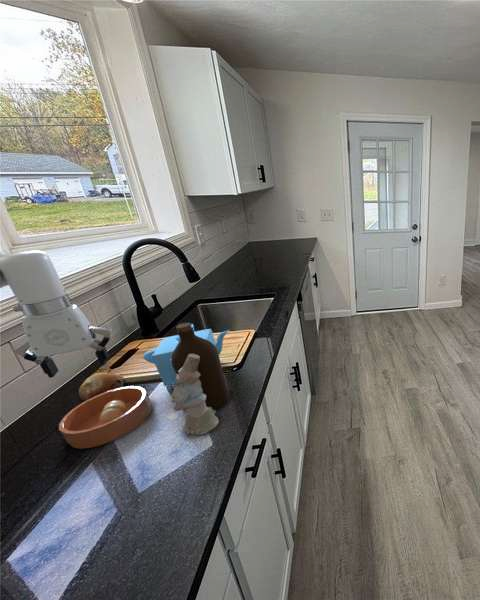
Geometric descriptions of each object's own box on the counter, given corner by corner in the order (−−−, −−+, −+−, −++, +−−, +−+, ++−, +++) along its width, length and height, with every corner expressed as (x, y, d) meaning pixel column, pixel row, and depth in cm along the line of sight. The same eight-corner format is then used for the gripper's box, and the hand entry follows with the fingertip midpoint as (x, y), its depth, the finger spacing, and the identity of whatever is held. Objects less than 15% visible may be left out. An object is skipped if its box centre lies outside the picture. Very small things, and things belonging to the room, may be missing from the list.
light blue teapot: (150, 385, 100) (131, 345, 94) (204, 353, 115) (191, 318, 110) (189, 398, 92) (171, 356, 87) (240, 363, 108) (229, 325, 102)
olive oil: (238, 399, 90) (212, 322, 81) (198, 421, 83) (164, 339, 74) (224, 385, 97) (198, 312, 87) (185, 404, 90) (153, 327, 80)
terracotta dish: (55, 460, 74) (45, 444, 72) (82, 414, 89) (74, 400, 87) (146, 429, 82) (138, 415, 80) (157, 392, 96) (151, 378, 94)
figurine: (226, 411, 86) (204, 349, 78) (211, 436, 78) (185, 369, 70) (193, 415, 86) (168, 352, 78) (175, 439, 78) (145, 373, 70)
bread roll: (104, 394, 103) (80, 379, 99) (132, 374, 104) (111, 359, 100) (90, 413, 94) (64, 398, 90) (122, 392, 96) (97, 376, 92)
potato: (119, 428, 83) (121, 413, 82) (96, 430, 80) (97, 414, 80) (126, 410, 89) (128, 396, 88) (105, 411, 87) (106, 397, 86)
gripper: (-17, 321, 65) (24, 388, 71) (91, 302, 72) (119, 365, 79) (3, 308, 71) (40, 371, 78) (101, 292, 78) (127, 351, 85)
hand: (80, 368), depth 78 cm, fingers open, 9 cm apart
